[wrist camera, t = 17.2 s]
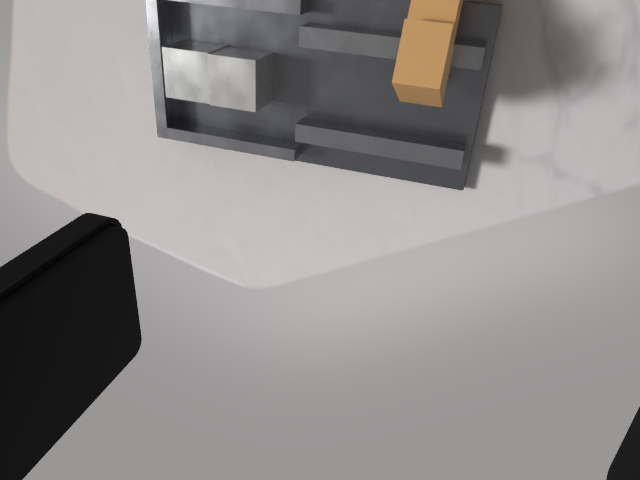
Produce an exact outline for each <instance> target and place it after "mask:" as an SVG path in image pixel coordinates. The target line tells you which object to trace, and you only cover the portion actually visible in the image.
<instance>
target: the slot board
mask: <svg viewBox="0 0 640 480" xmlns="http://www.w3.org/2000/svg"><path fill="white" fill-rule="evenodd" d="M145 2H146V13H147V24H148V35H149V46H150V57H151V68H152V79H153V90H154V101H155V112H156V123H157V134H158V137H162V138H167V139H173V140H178V141H184V142H189V143H195V144H201V145H206V146H212V147H217V148H223V149H228V150H234V151H239V152H245V153H251V154H256V155H262V156H267V157H273V158H278V159H284V160H289V161H295V160H296V161H302V162H307V163H313V164H318V165H324V166H329V167H335V168H340V169H346V170H352V171H357V172H363V173H368V174H374V175H379V176H385V177H391V178H396V179H402V180H407V181H413V182H418V183H424V184H430V185H435V186H441V187H446V188H452V189H457V190H463V189H464V184H465V180H466V175H467V170H468V165H469V161H470V156H471V151H472V146H473V142H474V137H475V132H476V127H477V123H478V118H479V113H480V108H481V104H482V99H483V94H484V89H485V84H486V80H487V75H488V70H489V65H490V61H491V56H492V51H493V46H494V42H495V37H496V32H497V27H498V23H499V18H500V13H501V8H502V5H496V4H486V3H476V2H466V1H463V3H462V8H461V13H460V18H459V23H458V27H457V32H456V37H455V42H454V52H453V57H452V61H451V66H450V71H449V76H448V81H447V85H446V90H445V95H444V100H443V105H442V107H436V106H429V105H422V104H415V103H408V102H401V101H399V98H398V96H397V94H396V91H395V89H394V87H393V85H392V79H393V74H394V69H395V64H396V59H397V54H398V49H399V44H400V39H401V34H402V29H403V24H404V19H407V18H408V13H409V8H410V3H411V0H145ZM182 40H190V41H198V42H206V43H214V44H221V45H228V46H229V47H237V48H244V49H252V50H260V51H268V52H273V78H272V102H270V103H269V104H267V105H266V106H264V107H263V108H261V109H260V110H258V111H257V112H250V111H244V110H238V109H231V108H225V107H219V106H212V105H210V104H206V103H200V102H193V101H187V100H180V99H174V98H168V97H166V91H165V79H164V67H163V55H162V47H163V46H166V45H169V44H172V43H176V42H179V41H182Z"/></svg>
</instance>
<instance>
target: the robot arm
mask: <svg viewBox="0 0 640 480" xmlns="http://www.w3.org/2000/svg"><path fill="white" fill-rule="evenodd" d="M140 345H141V330H140V322H139V315H138V308H137V300H136V292H135V284H134V277H133V269H132V262H131V254H130V246H129V239H128V234H127V232H126V230H125V229H123V228H122V226H121V224H120V222H119V221H118V220H117V219H115V218H110V217H106V216H101V215H97V214H93V213H86V214H83V215H81V216H80V217H78V218H76V219H75V220H74V221H72V222H70V223H69V224H67V225H66V226H64V227H62V228H61V229H59V230H58V231H56V232H55V233H53V234H52V235H50V236H48V237H47V238H46V239H44V240H42V241H40V242H39V243H38V244H36V245H34V246H33V247H31V248H30V249H28V250H26V251H25V252H23V253H22V254H20V255H19V256H17V257H15V258H14V259H13V260H11V261H9V262H8V263H6V264H5V265H3V266H1V267H0V480H22V479H23V478H24V477H25V476H26V475H27V474H28V473H29V472H30V471H31V469H32V468H33V467H34V466H35V465H36V464H37V463H38V462H39V461H40V460H41V458H42V457H43V456H44V455H45V454H46V453H47V452H48V451H49V450H50V449H51V448H52V446H53V445H54V444H55V443H56V442H57V441H58V440H59V439H60V438H61V437H62V436H63V434H64V433H65V432H66V431H67V430H68V429H69V428H70V427H71V426H72V424H73V423H74V422H75V421H76V420H77V419H78V418H79V417H80V416H81V415H82V414H83V413H84V411H85V410H86V409H87V408H88V407H89V406H90V405H91V404H92V403H93V402H94V401H95V399H96V398H97V397H98V396H99V395H100V394H101V393H102V392H103V391H104V390H105V388H106V387H107V386H108V385H109V384H110V383H111V382H112V381H113V380H114V379H115V378H116V376H117V375H118V374H119V373H120V372H121V371H122V370H123V369H124V368H125V367H126V366H127V364H128V363H129V362H130V361H131V360H132V359H133V358H134V357H135V355H136V354H137V352H138V350H139V348H140ZM607 480H640V407H639V409H638V411H637V413H636V415H635V417H634V419H633V421H632V424H631V426H630V427H629V429H628V432H627V434H626V436H625V438H624V440H623V442H622V444H621V446H620V448H619V450H618V452H617V454H616V456H615V458H614V460H613V462H612V464H611V466H610V468H609V471H608V475H607Z"/></svg>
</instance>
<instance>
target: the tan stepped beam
mask: <svg viewBox="0 0 640 480" xmlns="http://www.w3.org/2000/svg"><path fill="white" fill-rule="evenodd" d="M462 3H463V0H411V3H410V8H409V13H408V18H407V19H404V24H403V29H402V34H401V39H400V44H399V49H398V54H397V59H396V64H395V69H394V74H393V79H392V85H393V87H394V89H395V91H396V94H397V96H398V98H399V101H401V102H408V103H415V104H422V105H429V106H436V107H442V105H443V100H444V95H445V90H446V85H447V81H448V76H449V71H450V66H451V61H452V57H453V52H454V42H455V37H456V32H457V27H458V23H459V18H460V13H461V8H462Z"/></svg>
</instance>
